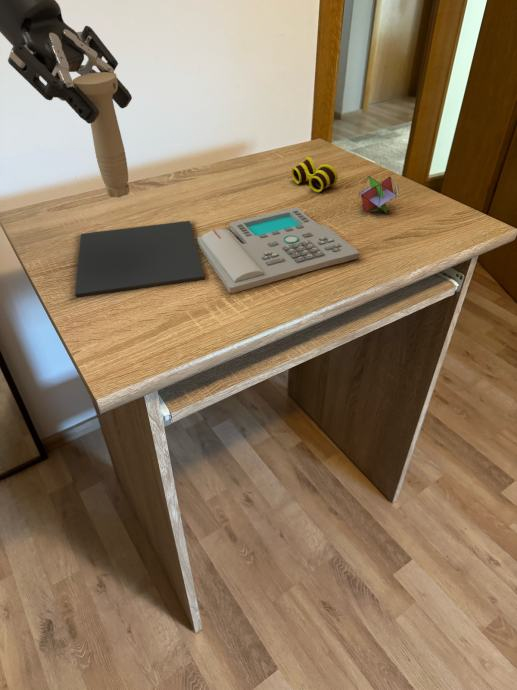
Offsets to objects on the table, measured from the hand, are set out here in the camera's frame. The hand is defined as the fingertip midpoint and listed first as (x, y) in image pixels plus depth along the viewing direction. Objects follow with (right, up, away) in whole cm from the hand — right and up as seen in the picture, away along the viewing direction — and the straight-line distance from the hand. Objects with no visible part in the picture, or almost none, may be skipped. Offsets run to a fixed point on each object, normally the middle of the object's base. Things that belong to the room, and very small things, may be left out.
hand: (111, 110), depth 62 cm
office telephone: (+21, -13, +23) cm, 34 cm away
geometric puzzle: (+42, -4, +33) cm, 53 cm away
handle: (-1, -8, +8) cm, 12 cm away
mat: (-2, -15, +21) cm, 26 cm away
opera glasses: (+31, +4, +43) cm, 53 cm away
